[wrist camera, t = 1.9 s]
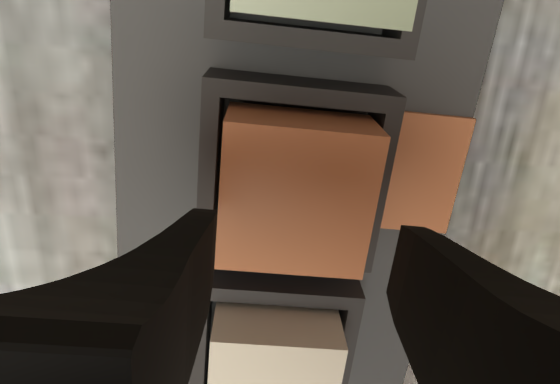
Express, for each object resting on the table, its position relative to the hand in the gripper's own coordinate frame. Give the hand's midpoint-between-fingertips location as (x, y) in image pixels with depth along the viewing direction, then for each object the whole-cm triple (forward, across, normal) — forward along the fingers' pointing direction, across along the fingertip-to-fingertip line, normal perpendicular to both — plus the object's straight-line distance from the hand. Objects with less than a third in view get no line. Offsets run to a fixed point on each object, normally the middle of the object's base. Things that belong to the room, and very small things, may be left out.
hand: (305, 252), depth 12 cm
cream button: (+6, 0, +8) cm, 10 cm away
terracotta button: (+6, 0, 0) cm, 6 cm away
